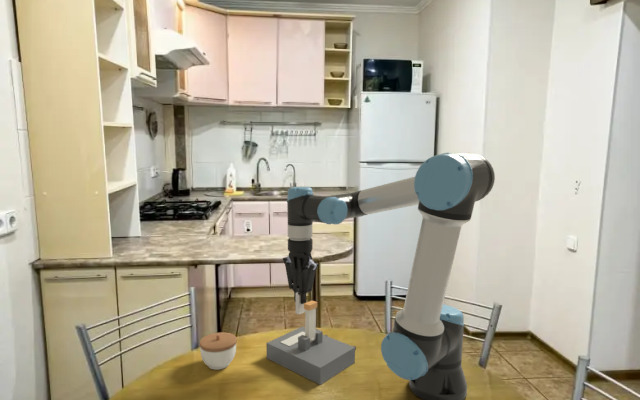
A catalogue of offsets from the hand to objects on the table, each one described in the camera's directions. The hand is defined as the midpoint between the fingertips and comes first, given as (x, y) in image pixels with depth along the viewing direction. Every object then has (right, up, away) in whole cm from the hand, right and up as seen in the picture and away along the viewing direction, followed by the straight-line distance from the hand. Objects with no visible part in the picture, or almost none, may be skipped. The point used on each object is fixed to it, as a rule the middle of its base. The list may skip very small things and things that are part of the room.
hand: (300, 312), depth 130 cm
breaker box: (+3, -14, -1) cm, 15 cm away
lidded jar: (-24, -15, -3) cm, 29 cm away
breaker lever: (+3, -7, -2) cm, 8 cm away
